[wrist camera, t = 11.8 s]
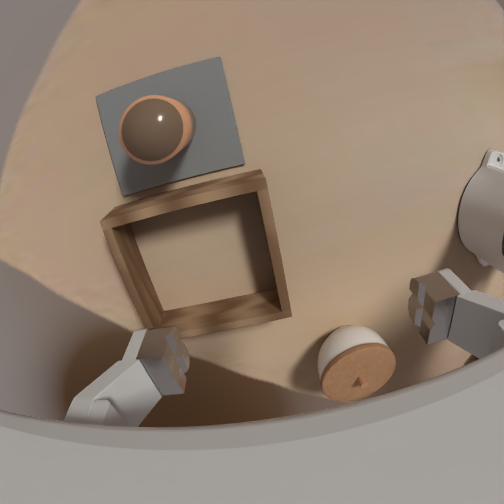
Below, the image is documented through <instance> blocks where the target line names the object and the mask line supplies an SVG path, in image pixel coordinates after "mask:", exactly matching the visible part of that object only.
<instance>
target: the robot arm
mask: <svg viewBox="0 0 504 504" xmlns="http://www.w3.org/2000/svg"><path fill="white" fill-rule="evenodd" d="M458 227H459V234H460V238H461V240H462V243H463V244H464V246H465V247H466V248H467V249H468V250H469V251H471V252H472V253H474V254H475V255H476V257H477V260H478V262H479V263H480V264H481V265H483V266H488V265H491V266H493V267H494V268H496V269H498V270H499V271H501V272H502V273H504V152H501V151H498V150H494V149H490V150H488V151H487V153H486V155H485V158H484V160H483V163H482V166H481V167H480V169H479V170H478V171H477V172H476V174H475V175H474V176H473V177H472V179H471V180H470V182H469V183H468V185H467V187H466V189H465V192H464V194H463V197H462V200H461V204H460V209H459V217H458ZM410 290H411V292H412V293H413V294H412V295H411V297H410V298H409V302H408V309H409V315H410V318H411V320H412V322H413V323H414V325H416V326H419V327H420V334H421V336H422V337H423V339H424V340H425V342H426V344H427V345H429V344H432V343H435V342H438V341H441V340H445V339H448V340H449V341H451V342H452V343H454V344H456V345H458V346H459V347H461V348H463V349H464V350H466V351H468V352H469V353H471V354H473V355H474V356H476V357H477V358H479V359H478V360H476V361H473V362H471V363H469V364H467V365H464V366H462V367H460V368H457V369H455V370H452V371H450V372H447V373H445V374H442V375H440V376H437V377H434V378H432V379H429V380H426V381H423V382H420V383H418V384H415V385H412V386H409V387H406V388H403V389H399V390H396V391H393V392H390V393H386V394H383V395H380V396H376V397H373V398H369V399H365V400H361V401H358V402H354V403H350V404H346V405H341V406H337V407H333V408H328V409H324V410H319V411H314V412H309V413H304V414H298V415H293V416H286V417H280V418H274V419H267V420H260V421H251V422H243V423H234V424H222V425H211V426H210V425H209V426H192V427H138V425H140V423H141V422H142V421H143V419H144V418H145V417H146V416H147V415H148V413H149V412H150V411H151V410H152V408H153V407H154V406H155V405H156V403H157V402H158V401H159V400H160V398H161V397H162V395H174V394H183V393H184V392H185V386H186V381H187V378H186V377H185V375H184V374H185V373H186V371H188V369H189V354H188V350H187V348H186V345H185V344H184V343H183V342H181V341H180V340H179V339H180V335H181V334H180V332H179V330H178V328H177V327H176V326H166V327H157V328H149V329H140V330H136V331H134V333H133V335H132V338H131V340H130V342H129V345H128V347H127V350H126V352H125V354H124V357H123V359H122V361H118V362H116V363H115V364H114V365H113V366H112V367H110V368H109V369H108V370H107V371H106V372H104V373H103V374H102V375H101V376H100V377H98V378H97V379H96V380H95V381H94V382H92V383H91V384H90V385H89V386H88V387H86V388H85V389H84V390H83V391H82V392H80V393H79V394H78V395H77V396H75V397H74V399H73V401H72V403H71V406H70V408H69V410H68V412H67V415H66V417H65V419H64V421H56V420H49V419H43V418H37V417H32V416H26V415H21V414H16V413H11V412H7V411H3V410H0V504H504V300H503V299H500V298H497V297H494V296H491V295H489V294H486V293H483V292H480V291H477V290H473V291H471V290H470V289H469V288H468V287H467V286H466V285H465V284H464V283H463V282H462V281H461V280H460V279H459V278H458V277H457V276H456V275H455V274H454V273H453V272H452V271H451V270H450V269H448V268H446V269H442V270H439V271H436V272H434V273H431V274H427V275H423V276H420V277H416V278H412V279H411V282H410Z"/></svg>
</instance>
